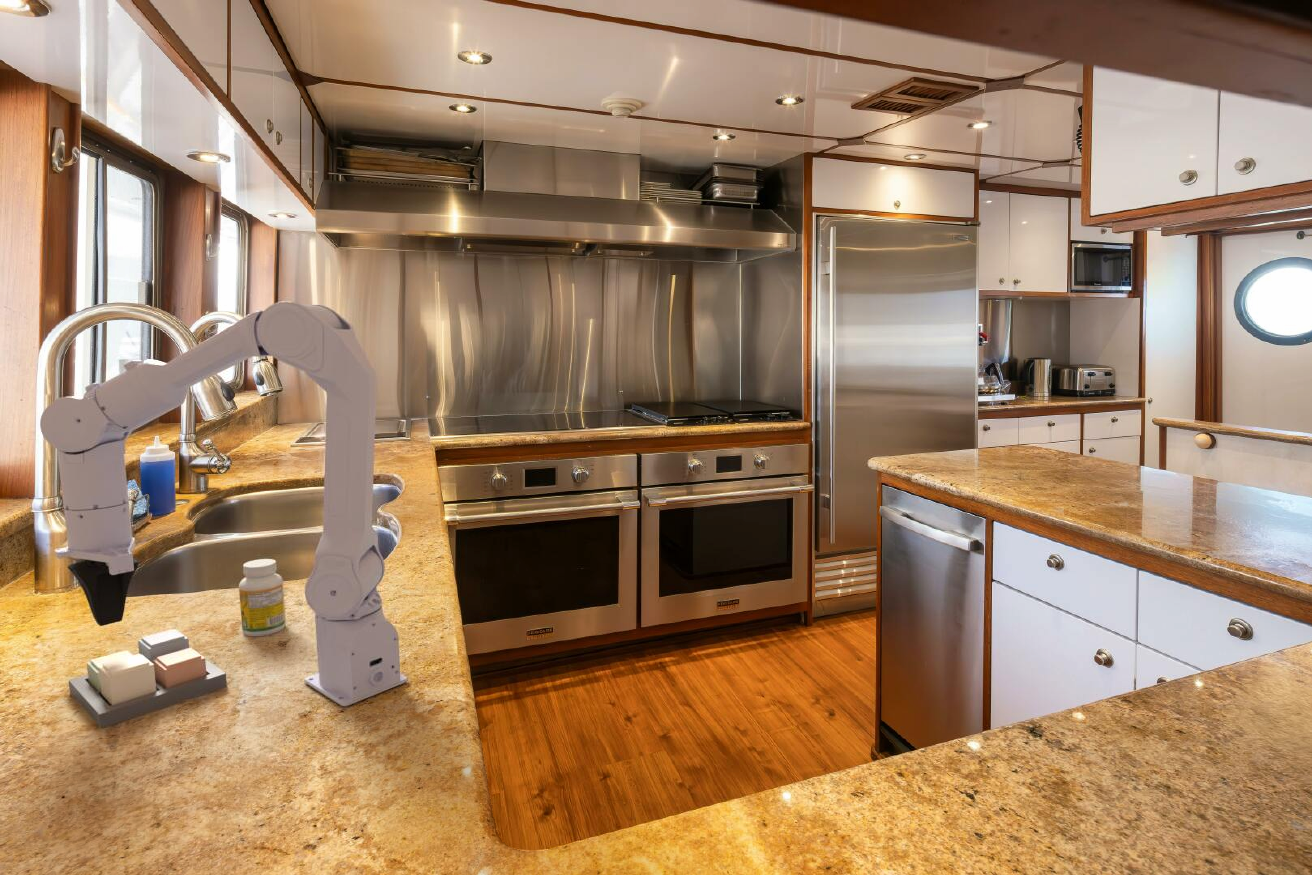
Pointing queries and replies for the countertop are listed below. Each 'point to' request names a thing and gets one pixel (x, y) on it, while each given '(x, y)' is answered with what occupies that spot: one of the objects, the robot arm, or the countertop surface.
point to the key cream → (127, 679)
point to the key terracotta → (179, 667)
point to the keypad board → (143, 697)
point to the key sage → (95, 663)
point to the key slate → (162, 644)
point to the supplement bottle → (262, 598)
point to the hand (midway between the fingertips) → (109, 622)
